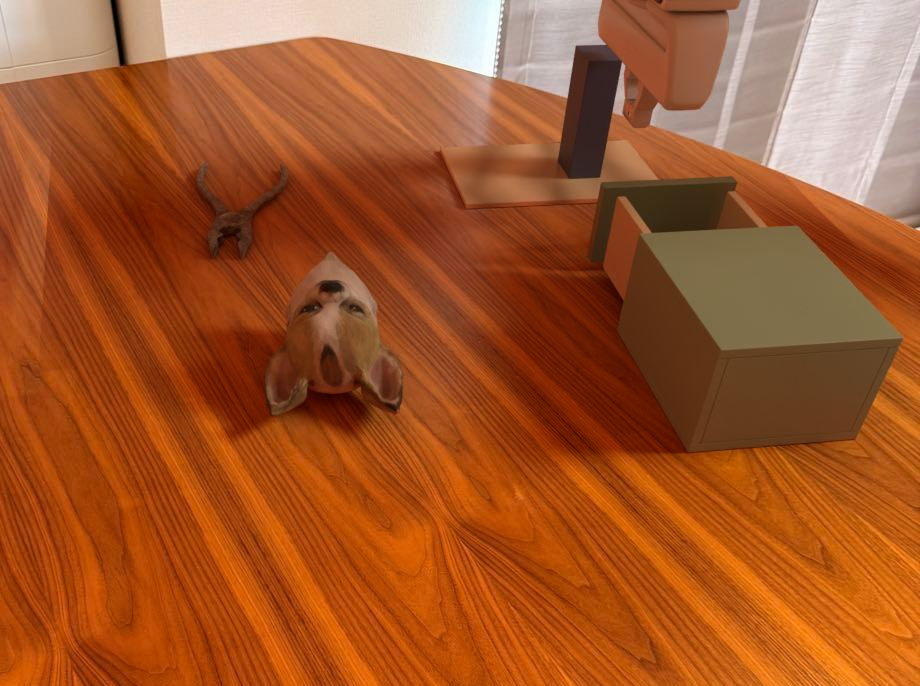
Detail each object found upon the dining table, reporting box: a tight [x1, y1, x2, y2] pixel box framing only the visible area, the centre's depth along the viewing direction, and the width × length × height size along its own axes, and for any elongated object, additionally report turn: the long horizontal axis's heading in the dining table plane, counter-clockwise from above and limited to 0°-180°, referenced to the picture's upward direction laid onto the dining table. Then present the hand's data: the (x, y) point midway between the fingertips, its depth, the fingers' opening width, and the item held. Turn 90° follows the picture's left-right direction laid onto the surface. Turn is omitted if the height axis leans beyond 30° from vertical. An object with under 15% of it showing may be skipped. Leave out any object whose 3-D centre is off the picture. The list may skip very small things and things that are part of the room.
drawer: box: [586, 175, 768, 302], centre depth 86 cm, size 20×12×7 cm, turn 9°
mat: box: [439, 139, 660, 210], centre depth 106 cm, size 22×14×1 cm, turn 99°
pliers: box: [195, 161, 289, 259], centre depth 98 cm, size 10×1×20 cm
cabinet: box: [616, 225, 904, 454], centre depth 76 cm, size 17×14×9 cm
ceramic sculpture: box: [262, 251, 404, 418], centre depth 75 cm, size 11×9×15 cm
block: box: [558, 44, 623, 179], centre depth 102 cm, size 4×4×12 cm
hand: (635, 122), depth 93 cm, fingers closed
